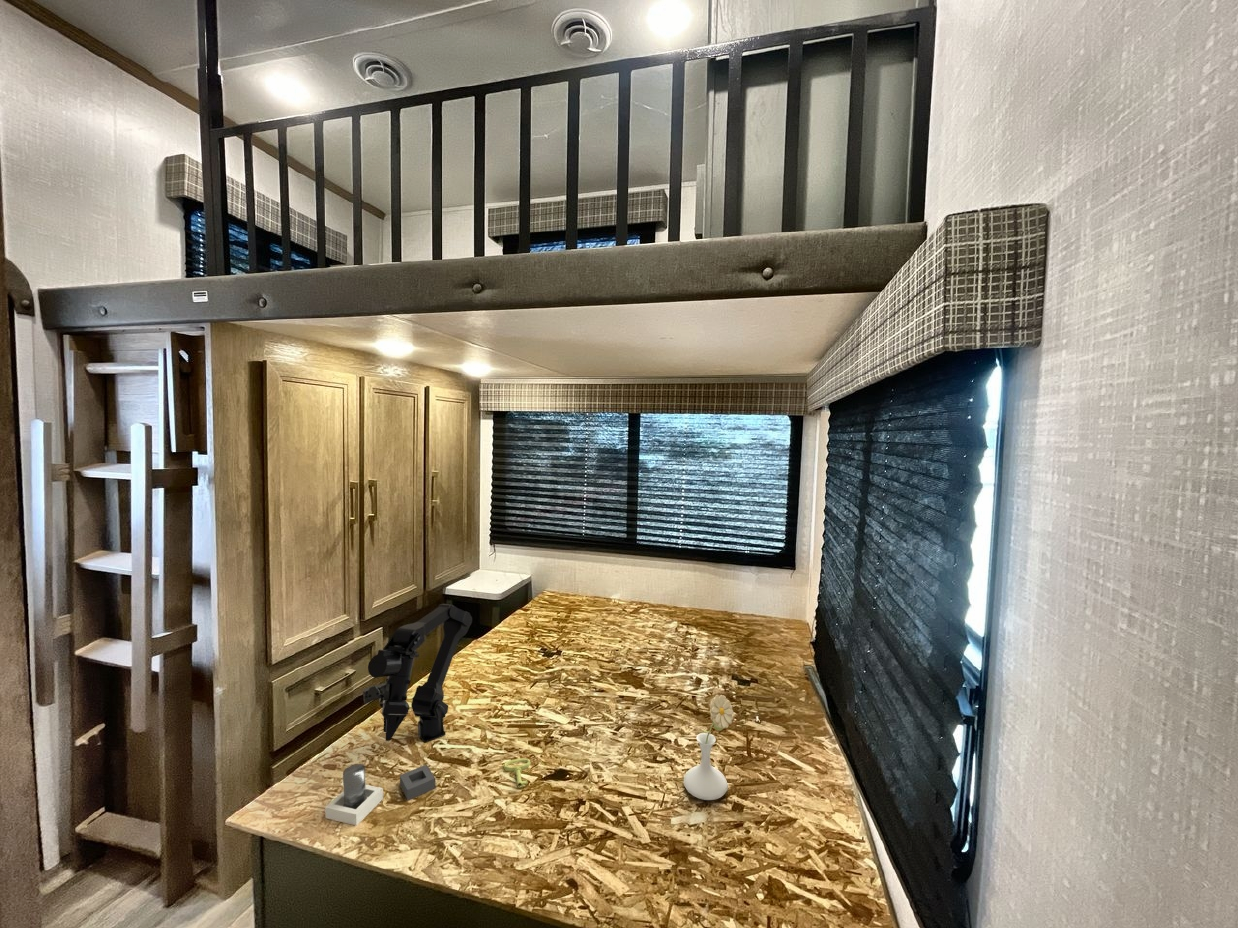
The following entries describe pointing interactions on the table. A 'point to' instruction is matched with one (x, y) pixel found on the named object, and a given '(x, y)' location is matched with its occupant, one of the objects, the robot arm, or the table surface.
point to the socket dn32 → (417, 782)
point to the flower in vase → (704, 777)
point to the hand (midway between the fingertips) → (386, 736)
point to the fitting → (354, 786)
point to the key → (518, 769)
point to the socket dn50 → (354, 815)
